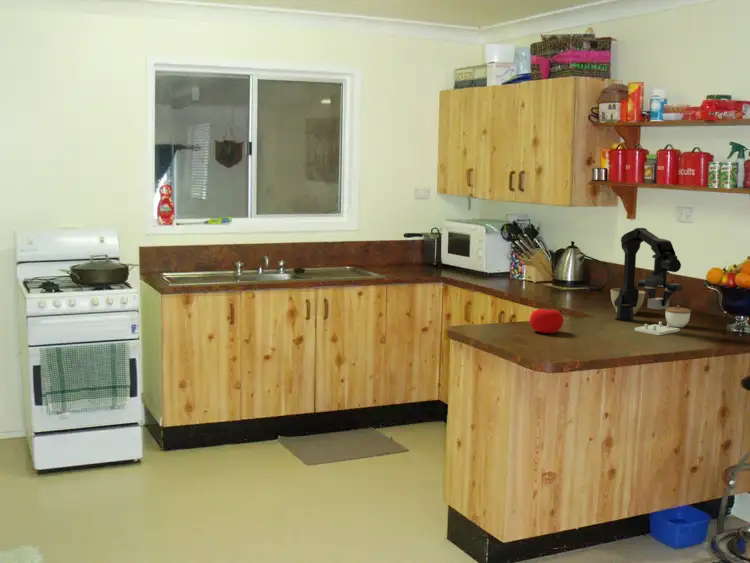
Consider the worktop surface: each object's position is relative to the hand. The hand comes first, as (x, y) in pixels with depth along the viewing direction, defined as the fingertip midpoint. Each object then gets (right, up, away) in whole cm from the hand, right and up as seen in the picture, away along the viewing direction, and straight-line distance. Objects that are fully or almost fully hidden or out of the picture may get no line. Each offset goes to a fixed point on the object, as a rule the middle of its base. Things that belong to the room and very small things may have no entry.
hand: (658, 305), depth 394 cm
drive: (0, -1, 0) cm, 1 cm away
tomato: (-51, -11, -11) cm, 53 cm away
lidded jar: (+13, -10, +15) cm, 23 cm away
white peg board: (0, -11, +1) cm, 11 cm away
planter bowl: (-1, -5, +47) cm, 47 cm away
